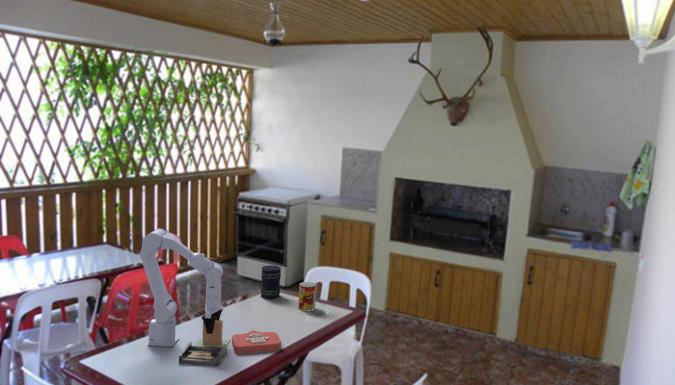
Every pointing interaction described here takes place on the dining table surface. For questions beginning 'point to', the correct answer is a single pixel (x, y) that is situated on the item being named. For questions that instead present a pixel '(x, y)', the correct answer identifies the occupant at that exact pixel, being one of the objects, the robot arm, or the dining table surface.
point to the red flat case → (256, 342)
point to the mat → (200, 343)
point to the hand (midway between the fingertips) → (212, 329)
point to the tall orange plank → (213, 334)
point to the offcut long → (200, 357)
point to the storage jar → (270, 282)
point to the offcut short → (201, 354)
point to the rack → (217, 353)
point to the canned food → (307, 296)
